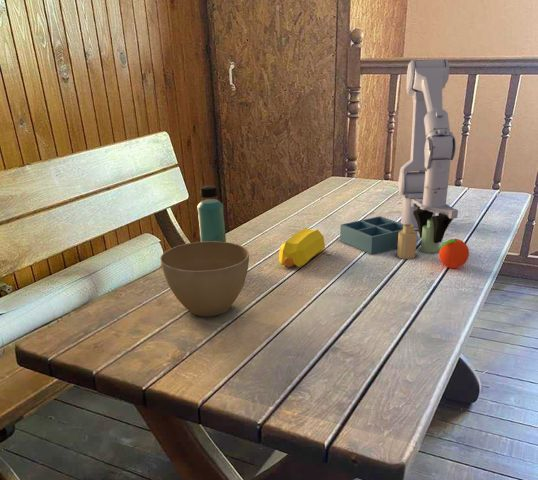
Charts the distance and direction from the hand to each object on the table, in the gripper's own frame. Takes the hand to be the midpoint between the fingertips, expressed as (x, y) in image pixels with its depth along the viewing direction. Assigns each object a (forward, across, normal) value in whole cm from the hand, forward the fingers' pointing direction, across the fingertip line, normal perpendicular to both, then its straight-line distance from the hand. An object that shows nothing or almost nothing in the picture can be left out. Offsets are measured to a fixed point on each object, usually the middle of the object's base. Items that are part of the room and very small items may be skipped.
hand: (430, 239), depth 151 cm
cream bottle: (+3, 0, -8) cm, 8 cm away
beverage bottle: (+3, -22, -52) cm, 56 cm away
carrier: (+3, -13, -8) cm, 15 cm away
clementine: (+3, +12, -5) cm, 14 cm away
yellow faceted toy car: (+3, -14, -31) cm, 34 cm away
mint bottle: (+3, 0, 0) cm, 3 cm away
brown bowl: (+3, +2, -64) cm, 64 cm away
